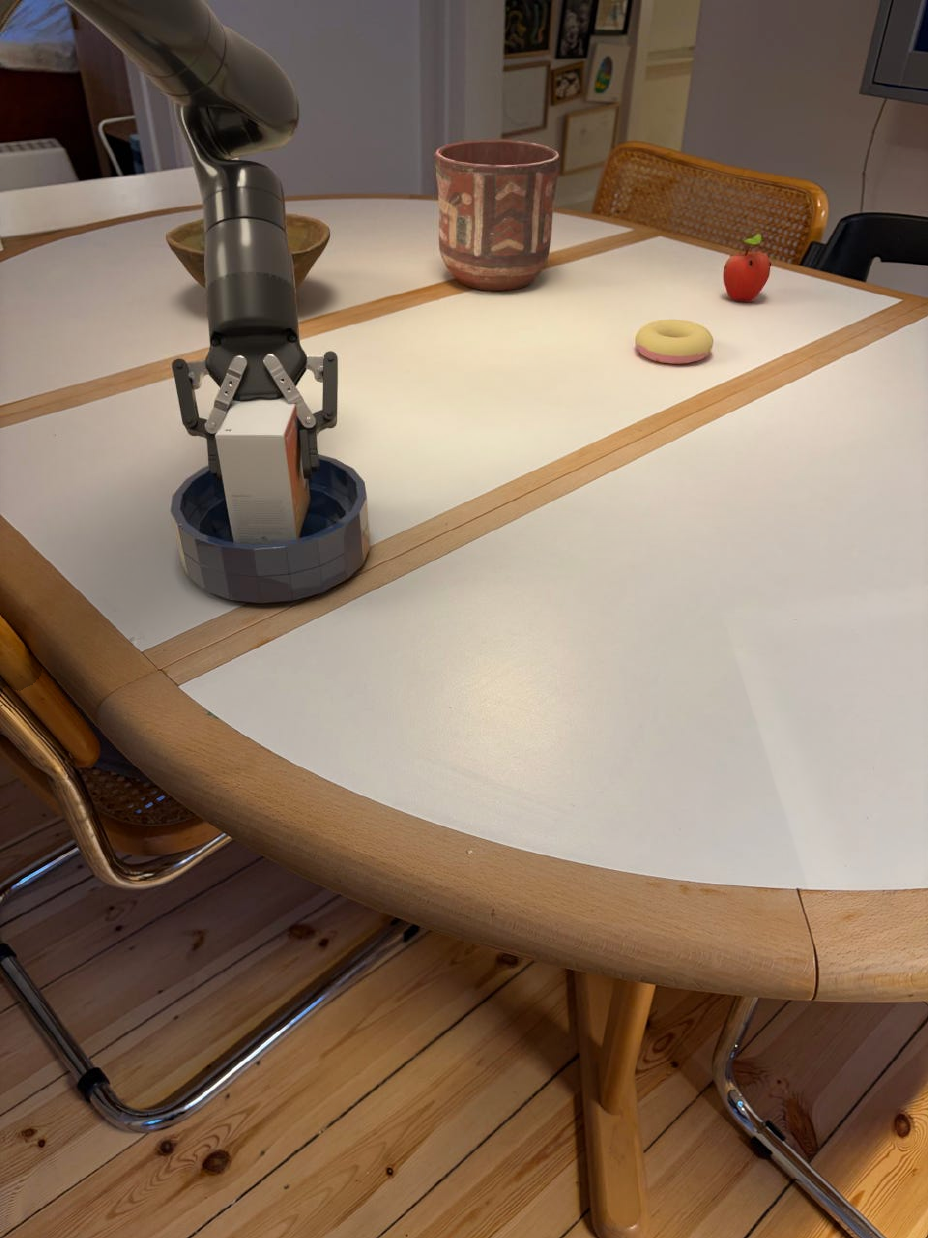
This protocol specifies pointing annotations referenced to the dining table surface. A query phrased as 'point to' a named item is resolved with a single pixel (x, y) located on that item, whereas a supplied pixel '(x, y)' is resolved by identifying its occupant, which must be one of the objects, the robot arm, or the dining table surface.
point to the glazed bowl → (274, 569)
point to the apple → (746, 273)
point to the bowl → (302, 237)
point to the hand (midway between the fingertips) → (266, 478)
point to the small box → (263, 471)
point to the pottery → (495, 211)
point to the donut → (674, 341)
